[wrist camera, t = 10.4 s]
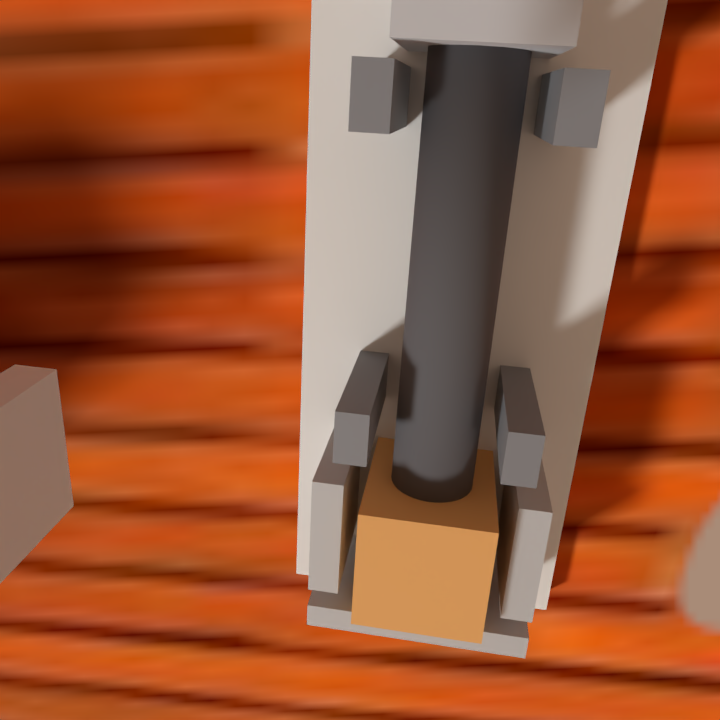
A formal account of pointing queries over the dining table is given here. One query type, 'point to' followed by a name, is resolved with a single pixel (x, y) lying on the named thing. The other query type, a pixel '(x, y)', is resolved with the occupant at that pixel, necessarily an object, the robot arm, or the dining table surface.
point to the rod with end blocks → (451, 317)
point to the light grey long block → (515, 301)
